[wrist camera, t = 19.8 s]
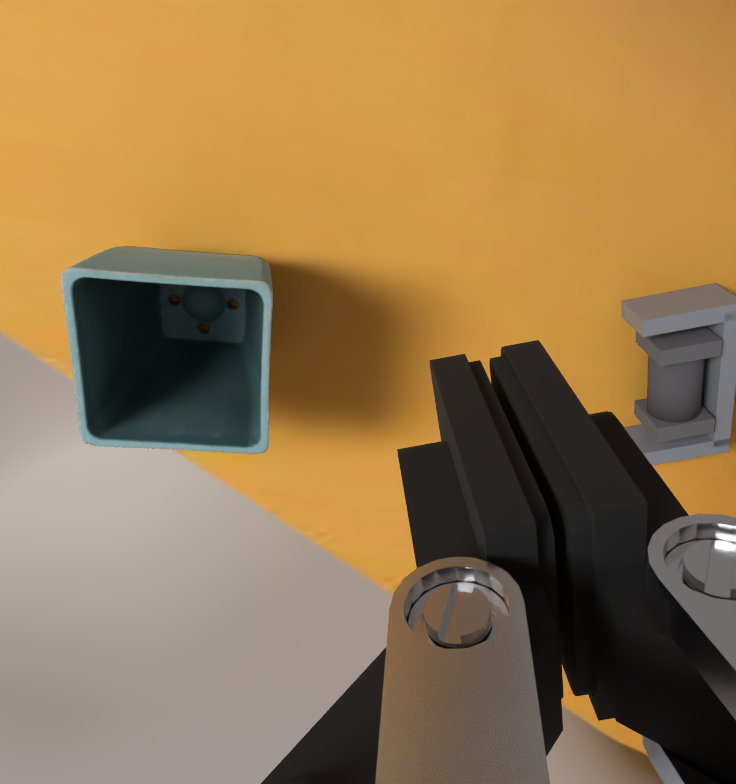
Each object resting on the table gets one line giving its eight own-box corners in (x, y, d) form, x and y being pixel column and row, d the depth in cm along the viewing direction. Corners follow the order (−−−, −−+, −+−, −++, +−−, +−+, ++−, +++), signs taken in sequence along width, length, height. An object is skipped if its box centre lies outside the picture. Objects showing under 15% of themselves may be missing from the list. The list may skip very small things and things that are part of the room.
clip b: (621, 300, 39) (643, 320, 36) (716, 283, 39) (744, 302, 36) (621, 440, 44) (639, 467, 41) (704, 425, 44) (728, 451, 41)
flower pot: (116, 213, 35) (56, 267, 27) (284, 226, 36) (273, 283, 28) (129, 362, 39) (80, 447, 31) (279, 371, 40) (268, 455, 32)
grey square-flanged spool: (635, 326, 40) (660, 351, 37) (692, 316, 40) (722, 339, 37) (634, 413, 43) (657, 442, 40) (687, 404, 43) (713, 432, 40)
